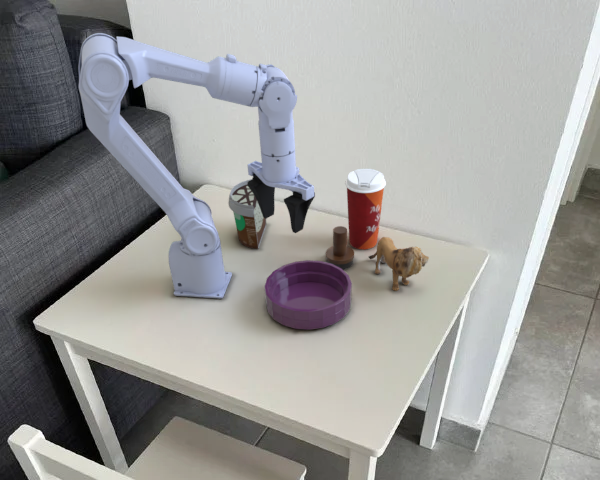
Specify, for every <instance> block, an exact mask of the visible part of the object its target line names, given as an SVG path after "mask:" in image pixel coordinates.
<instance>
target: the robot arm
mask: <svg viewBox="0 0 600 480" xmlns="http://www.w3.org/2000/svg"><path fill="white" fill-rule="evenodd" d="M77 68H78V91H79V95H80V99H81V104H82V109H83V110H82V111H83V114H84V115H83V116H84V118H85V119H84V120H85V125H86V127H87V129H88V130H89V131H90V132H91V134H93V136H94V137H95V138H96V139H97V140H98V141H99V142H100V143H101V144H102V145H103V147H104V148H105V149H106V150H107V151H108V152H109V153H110V154H111V155H112V156H113V157H114V159H115V160H116V161H117V163H119V164H120V165H121V166H122V167H123V168H124V169H125V170H126V172H127V173H129V175H130V176H131V177H132V178H133V179H134V180H135V181H136V182H137V183H138V185H139V186H140V187H141V188H142V189H143V190H144V191H145V192H146V193H147V195H148V196H149V197H150V198H151V199H152V200H153V201H154V202H155V204H157V205H158V206H159V207H160V208H161V210H162V211H163V212H164V213H165V215H166V216H167V218H168V220H169V222H170V224H171V225H172V227H173V229H174V230H175V232H176V233H178V235H179V237H180V240H175V241H173V242H171V243H170V246H169V249H168V267H169V271H170V275H171V280H172V285H173V290H174V291H173V295H174V296H175V297H177V296H178V297H191V298H192V297H193V298H205V299H223V298H224V296H225V295H226V291H227V289H228V287H229V284H230V281H231V279H232V276H233V273H232V271H225V263H224V258H223V257H224V256H223V251H222V250H223V249H222V245H221V238H220V236H219V235H220V234H219V231H218V230H217V228H216V225H215V221H214V218H213V214H212V213H213V211H212V209H211V207H210V205H209V204H208V203H207V202H206V201H205V200H203V199H201V198H198V197H196V196H195V195H194V194H193V193H192V192H191V191H190V190H189V189H186V188H184V187H183V186H182V185H181V183H180V182H179V181H178V180H177V179H176V178H175V176H174V175H173V174H172V173H171V172H170V171H169V169H168V168H167V167H166V166H165V165H164V163H162V162H161V160H160V159H159V158H158V157H157V156H156V154H155V153H154V152H153V150H151V149H150V148H149V146H148V145H147V144H146V143H145V142H144V141H143V139H142V138H141V136H139V135H138V133H137V132H136V131H135V130H134V129H133V127H132V126H131V125H130V124H129V123H128V122H127V121H126V120H125V118H124V117H123V116H122V115H121V114H120V113H121V104H122V103H121V102H122V100H123V98H124V96H125V94H126V92H127V90H128V87H129V82H130V81H131V80H132V85H133V88H134V89H136V88H138V87H140V86H141V85H143V84H144V83H146V82H147V81H149V80H151V79H159V80H165V81H171V82H175V83H179V84H180V83H181V84H187V85H191V86H197V87H202V88H205V89H206V90H207V92H208V94H209V95H210V97H211V98H212V99H214V100H215V99H216V100H219V101H224V102H228V103H233V104H236V105H240V106H246V107H250V108H257V112H258V123H257V125H258V135H259V136H258V137H259V145H260V146H259V147H260V157H261V161H257V160H254V161H252V162H250V163H248V164H247V166H246V167H247V173H248V176H250V177H252V178H251V179H252V180H250V179H249V180H250V181H248V187H249V188H250V190H251V191H252V192H253V194H254V196H255V198H256V200H257V202H258V204H259V207H260V209H261V212H262V215H263V217H264V218H265V219H266V220H268V218H270V217H273V216H274V215H275V210H276V209H275V193H276V192H275V191H276V188H277V189H281V190H287V191H288V192H289V191H290V192H292V194H291V195H289V196H287V197H285V198H283V203H284V204H285V206H286V209H287V211H288V214H289V221H290V229H291V231H292V233H294V234H297V233H299V232H300V231H302V230H304V226H305V221H306V217H307V215H308V211H309V208H310V206H311V205H312V202H313V201H314V199H315V198H316V192H315V186H314V185H313V184H311V183H309V182H308V181H307V180H306V179H305V178H304V177H303V176H302V175H301V174H300V167H298V166H297V162H296V161H297V159H296V158H297V157H296V140H295V139H296V138H295V135H296V134H295V121H294V116H293V115H294V111H293V110H294V109H295V107H296V106H297V102H298V95H297V94H296V90H295V87H294V85H293V83H292V82H291V81H290V79H289V78H288V77H287V75H286V74H285V72H284V71H283V70H282V69H280V68H279V67H277V66H275V65H273V64H272V63H271V64H263V63H259V64H258V65H255V64H252V63H251V64H250V63H247V62H243V61H239V60H237V57H236V55H235V54H230V53H226V56H225V57H223V56H221V55H220V56H219V55H218V56H216V57H215V58H213V59H211V60H210V61H208V62H207V61H204V60H200V59H197V58H193V57H190V56H187V55H183V54H180V53H176V52H174V51H170V50H167V49H164V48H160V47H157V46H154V45H152V44H148V43H145V42H141V41H138V40H136V39H132V38H129V37H126V36H116V38H115V37H113V36H112V35H109V34H107V33H104V32H96V33H93V34H90V35H89V36H87V37H86V38H85V39H84V41H83V42H82V44H81V47H80V53H79V58H78V67H77Z"/></svg>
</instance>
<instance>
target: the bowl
mask: <svg viewBox="0 0 600 480" xmlns="http://www.w3.org/2000/svg"><path fill="white" fill-rule="evenodd" d="M352 288H353V283H352V280H351V276H350V275H349V274H348V273H347V272H346V271H345V269H344V270H343V269H341V268H339V267H337V266H335V265H333V264H331V263H327V261H323V260H311V259H310V260H309V259H306V260H298V261H293V262H290V263H287V264H283V265H281V266H280V267H277V269H274V270H273V271H272V272H271V273H270V274H269V275H268V276H267V277H266V280H265V283H264V297H265V306H266V311H267V313H268V314H269V315H270V317H271V318H272V319H273V320H274V321H276V322H277V323H279V324H280V325H282V326H285V327H289V328H291V329H295V330H308V331H310V330H317V329H323V328H326V327H329V326H331V325H334V324H337V323H338V322H339V321H341V320H342V319H344V318H345V317H346V315H347V314H348V313H349V311H350V310H351V305H352V296H353V295H352V291H353V289H352Z"/></svg>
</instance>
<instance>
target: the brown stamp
mask: <svg viewBox="0 0 600 480" xmlns="http://www.w3.org/2000/svg"><path fill="white" fill-rule="evenodd" d="M332 240H333V241H332V246H329V247H328V248H327V249H326V250H325V260H326V262H327V263H331V264H333V265H335V266H337V267H339V268H341V269H343V270H344V271H345V270H347V269H349V268H351V267H352V266H353V265H354V259H355V250H354V249H353V248H352V247H351V246H348V228H347V227H345V226H342V225H338V226H335V227H334V228H333V229H332Z"/></svg>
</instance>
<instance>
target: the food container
mask: <svg viewBox="0 0 600 480" xmlns="http://www.w3.org/2000/svg"><path fill="white" fill-rule="evenodd" d="M250 180H252V178H251V179H247V180H243V181H241V182H239V183H237V184H236V185H234V186H233V187H232V188H231V189H230V191H229V195H228V207H229V209H230V210H231V211H232V213H233V217H234V218H233V219H234V222H235V226H236V231H237V236H238V241H239V242H240V244H241V245H243V246H244V247H246V248H249V249H253V250H259V249H260V245H261V243H262V240H263V237H264V234H265V231H266V228H267V219H265V218H264V217H263V215H262V212H261V209H260V207H259V204H258V202H257V200H256V198H255V196H254V194H253V192H252V191H251V190H250V188H249V187H248V181H250Z"/></svg>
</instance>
